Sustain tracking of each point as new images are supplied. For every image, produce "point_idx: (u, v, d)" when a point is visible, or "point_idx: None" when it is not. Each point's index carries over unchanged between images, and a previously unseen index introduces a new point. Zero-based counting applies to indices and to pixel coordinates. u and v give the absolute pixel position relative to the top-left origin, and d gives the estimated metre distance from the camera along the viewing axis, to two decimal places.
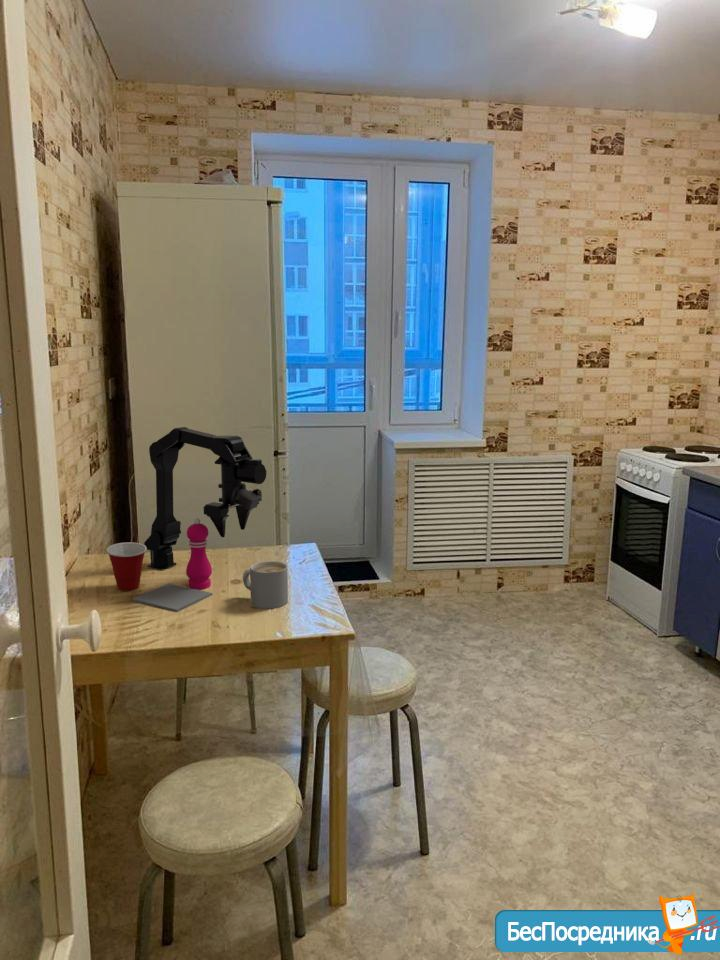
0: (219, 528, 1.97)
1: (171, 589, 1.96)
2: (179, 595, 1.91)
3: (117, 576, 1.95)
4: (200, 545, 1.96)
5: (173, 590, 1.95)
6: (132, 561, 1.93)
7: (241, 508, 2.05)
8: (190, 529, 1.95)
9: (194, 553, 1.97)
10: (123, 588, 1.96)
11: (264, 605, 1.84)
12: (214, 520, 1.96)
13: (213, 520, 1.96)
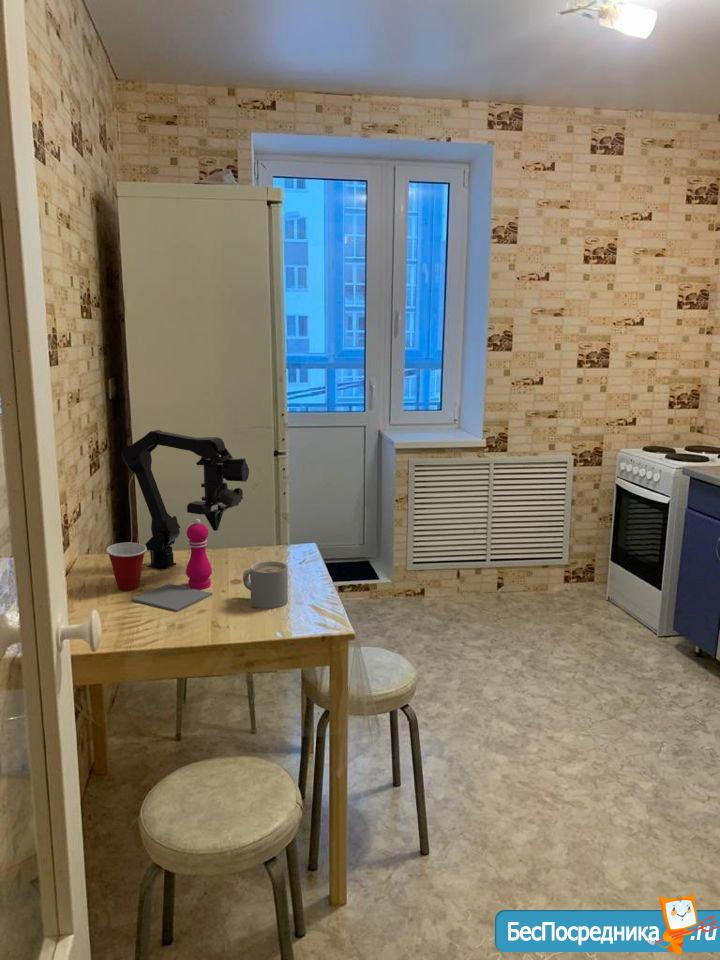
0: (212, 522, 2.10)
1: (171, 589, 1.96)
2: (179, 595, 1.91)
3: (117, 576, 1.95)
4: (200, 545, 1.96)
5: (173, 590, 1.95)
6: (132, 561, 1.93)
7: None
8: (190, 529, 1.95)
9: (194, 553, 1.97)
10: (123, 588, 1.96)
11: (264, 605, 1.84)
12: (207, 515, 2.09)
13: (206, 515, 2.09)
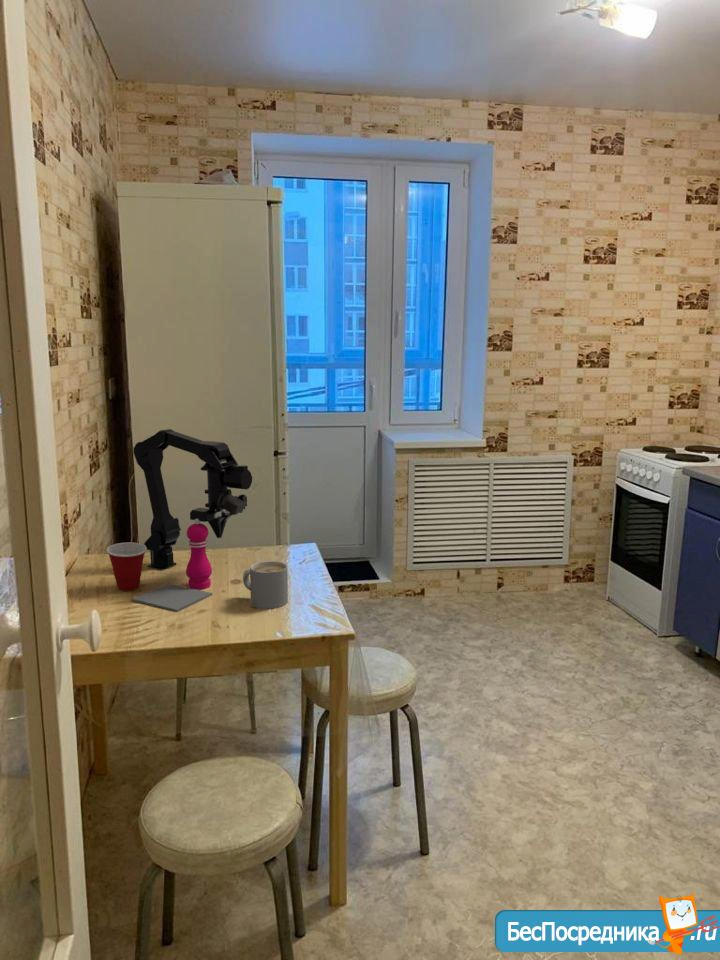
0: (215, 529, 2.05)
1: (171, 589, 1.96)
2: (179, 595, 1.91)
3: (117, 576, 1.95)
4: (200, 545, 1.96)
5: (173, 590, 1.95)
6: (132, 561, 1.93)
7: None
8: (190, 529, 1.95)
9: (194, 553, 1.97)
10: (123, 588, 1.96)
11: (264, 605, 1.84)
12: (210, 522, 2.04)
13: (209, 522, 2.04)
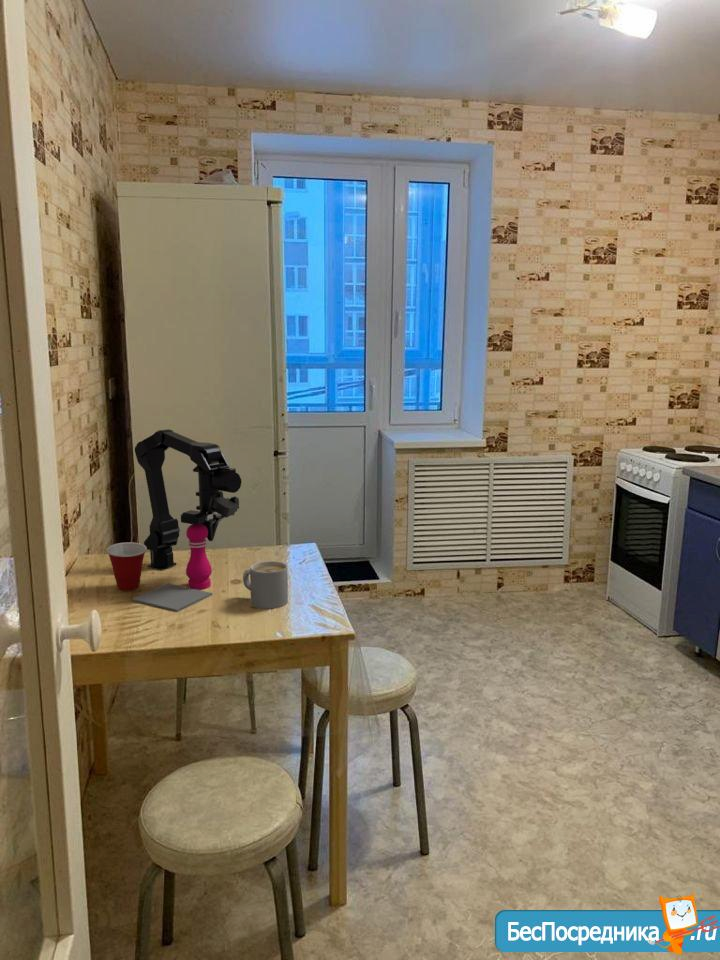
0: None
1: (171, 589, 1.96)
2: (179, 595, 1.91)
3: (117, 576, 1.95)
4: (200, 545, 1.96)
5: (173, 590, 1.95)
6: (132, 561, 1.93)
7: None
8: (189, 529, 1.95)
9: (194, 553, 1.97)
10: (123, 588, 1.96)
11: (264, 605, 1.84)
12: None
13: None
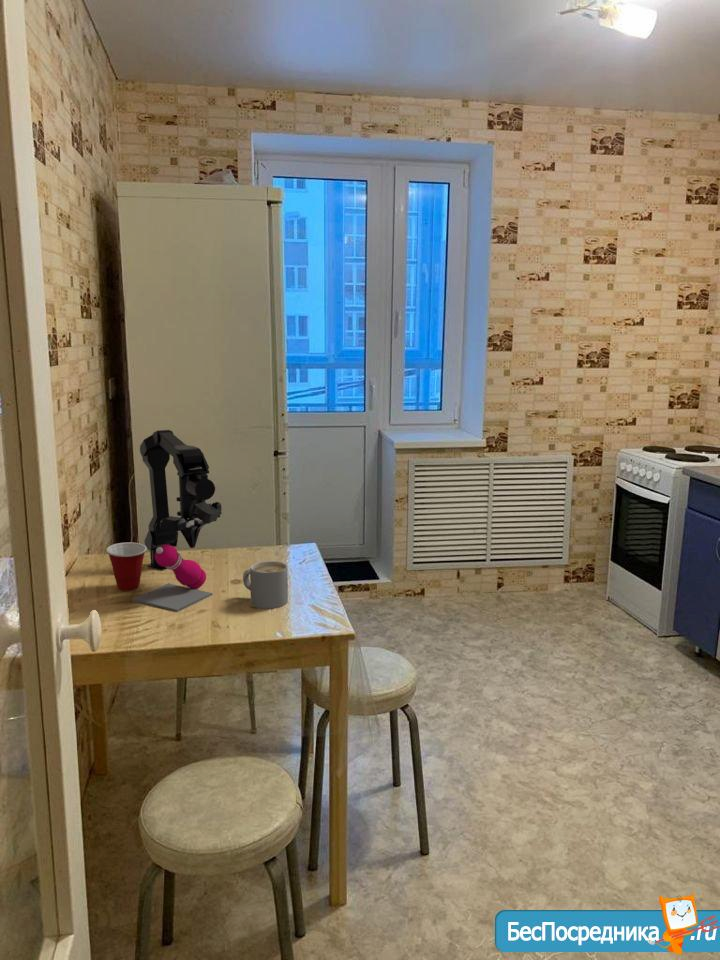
0: (188, 539, 1.95)
1: (171, 589, 1.96)
2: (179, 595, 1.91)
3: (117, 576, 1.95)
4: (176, 566, 1.88)
5: (173, 590, 1.95)
6: (132, 561, 1.93)
7: None
8: (158, 561, 1.84)
9: (175, 570, 1.90)
10: (123, 588, 1.96)
11: (264, 605, 1.84)
12: (183, 531, 1.94)
13: (182, 531, 1.94)
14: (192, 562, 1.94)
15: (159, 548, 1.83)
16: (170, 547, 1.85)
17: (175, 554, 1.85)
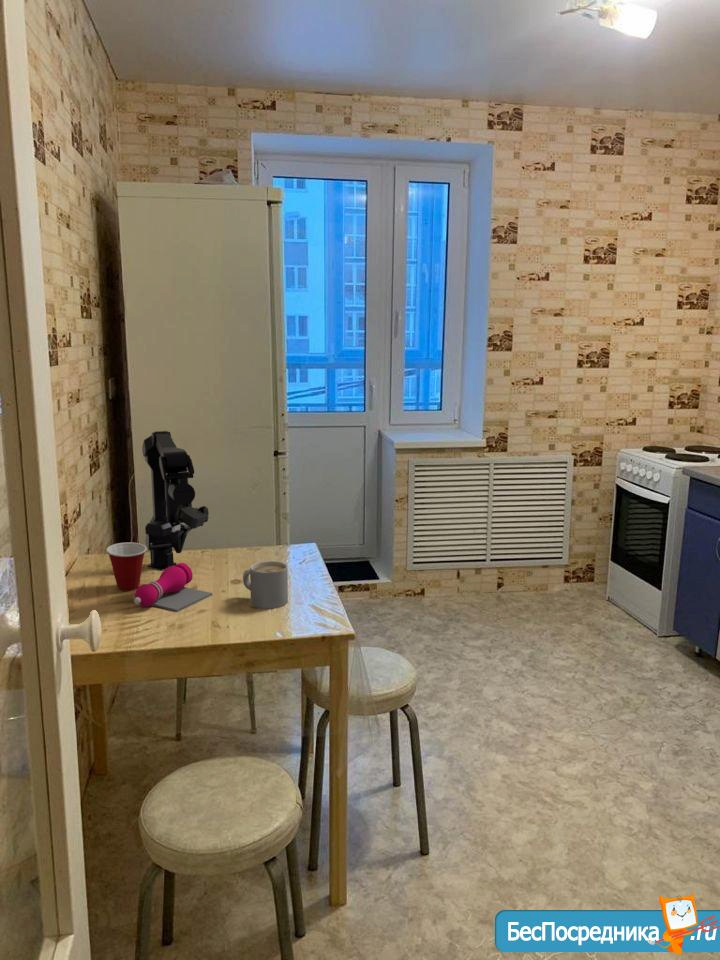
0: (174, 544, 1.90)
1: None
2: (179, 595, 1.91)
3: (117, 576, 1.95)
4: (160, 591, 1.86)
5: None
6: (132, 561, 1.93)
7: None
8: (146, 606, 1.83)
9: (164, 592, 1.88)
10: (123, 588, 1.96)
11: (264, 605, 1.84)
12: (169, 536, 1.89)
13: (168, 536, 1.90)
14: (166, 572, 1.91)
15: (135, 600, 1.80)
16: (140, 589, 1.82)
17: (149, 588, 1.82)
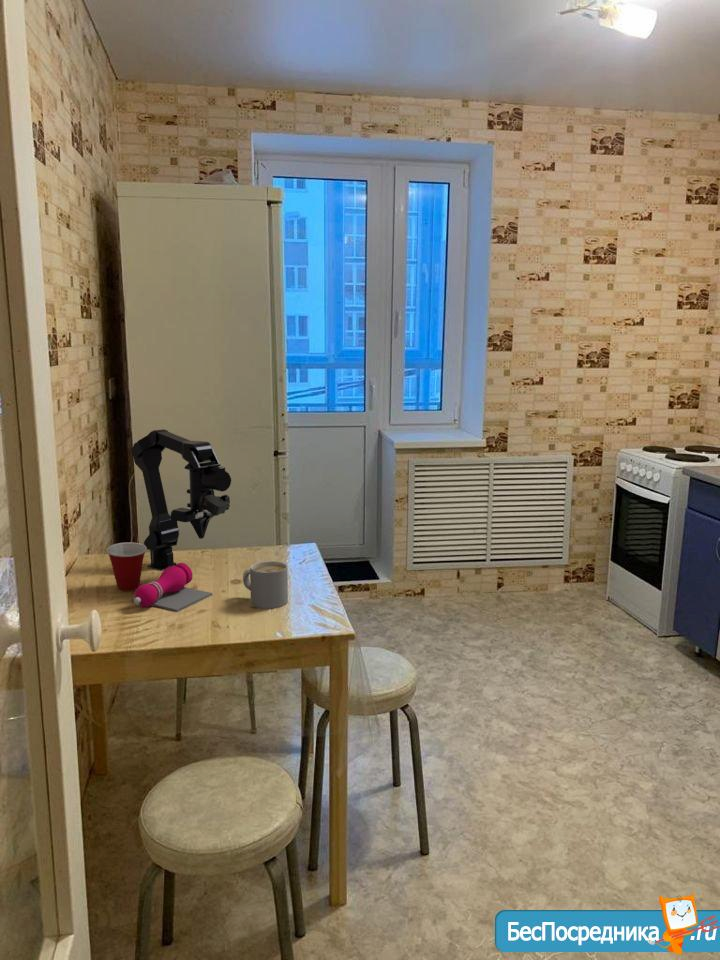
0: (197, 530, 2.02)
1: None
2: (179, 595, 1.91)
3: (117, 576, 1.95)
4: (160, 591, 1.86)
5: None
6: (132, 561, 1.93)
7: None
8: (146, 606, 1.83)
9: (164, 592, 1.88)
10: (123, 588, 1.96)
11: (264, 605, 1.84)
12: (192, 522, 2.01)
13: (191, 522, 2.01)
14: (166, 572, 1.91)
15: (135, 600, 1.80)
16: (140, 589, 1.82)
17: (149, 588, 1.82)
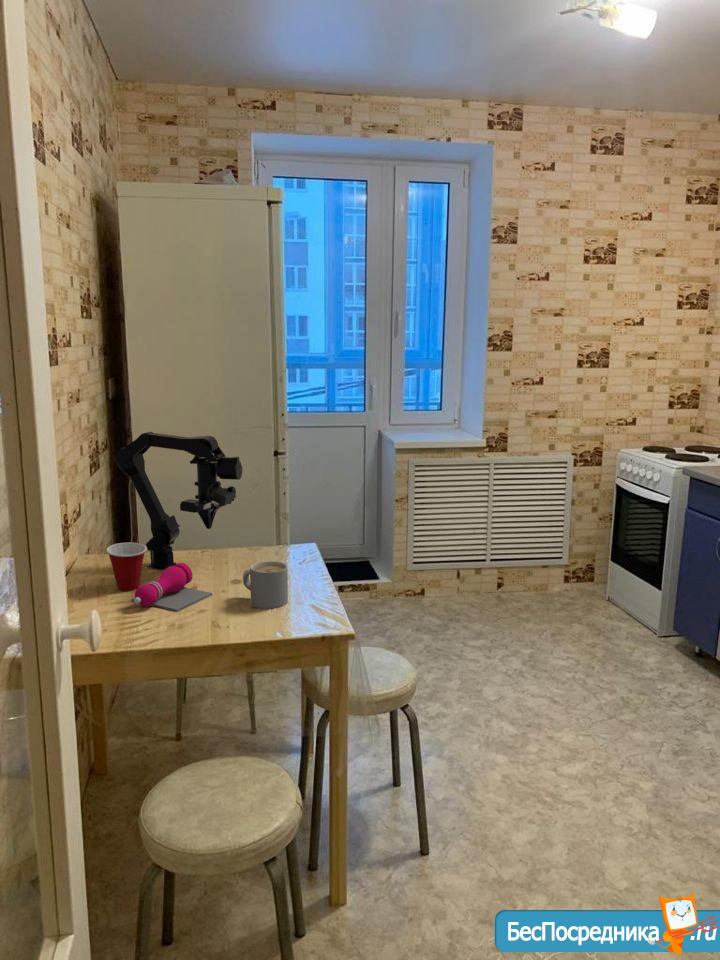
0: (205, 520, 2.11)
1: None
2: (179, 595, 1.91)
3: (117, 576, 1.95)
4: (160, 591, 1.86)
5: None
6: (132, 561, 1.93)
7: None
8: (146, 606, 1.83)
9: (164, 592, 1.88)
10: (123, 588, 1.96)
11: (264, 605, 1.84)
12: (200, 513, 2.11)
13: (199, 513, 2.11)
14: (166, 572, 1.91)
15: (135, 600, 1.80)
16: (140, 589, 1.82)
17: (149, 588, 1.82)
